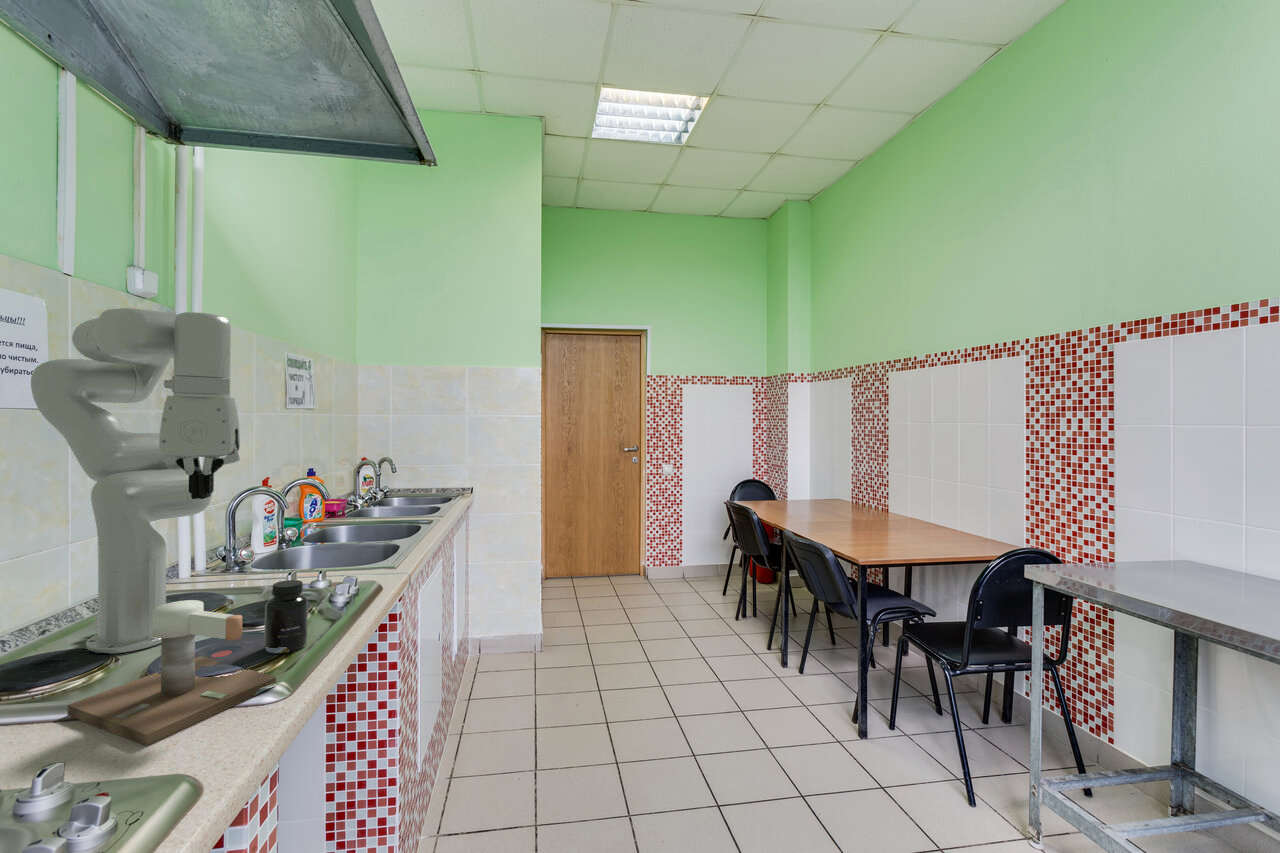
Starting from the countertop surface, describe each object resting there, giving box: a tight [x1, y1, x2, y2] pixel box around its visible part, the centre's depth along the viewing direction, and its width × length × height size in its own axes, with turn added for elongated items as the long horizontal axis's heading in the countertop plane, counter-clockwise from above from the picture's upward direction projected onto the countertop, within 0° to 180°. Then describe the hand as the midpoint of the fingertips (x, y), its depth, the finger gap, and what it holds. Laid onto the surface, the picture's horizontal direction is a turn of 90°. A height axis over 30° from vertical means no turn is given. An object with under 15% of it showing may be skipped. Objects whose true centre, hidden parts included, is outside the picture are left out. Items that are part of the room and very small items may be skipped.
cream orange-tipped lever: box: [153, 599, 243, 641], centre depth 87 cm, size 14×6×4 cm, turn 78°
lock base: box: [67, 634, 277, 747], centre depth 88 cm, size 18×18×10 cm
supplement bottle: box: [263, 579, 309, 653], centre depth 108 cm, size 7×7×12 cm
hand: (201, 497), depth 97 cm, fingers closed
